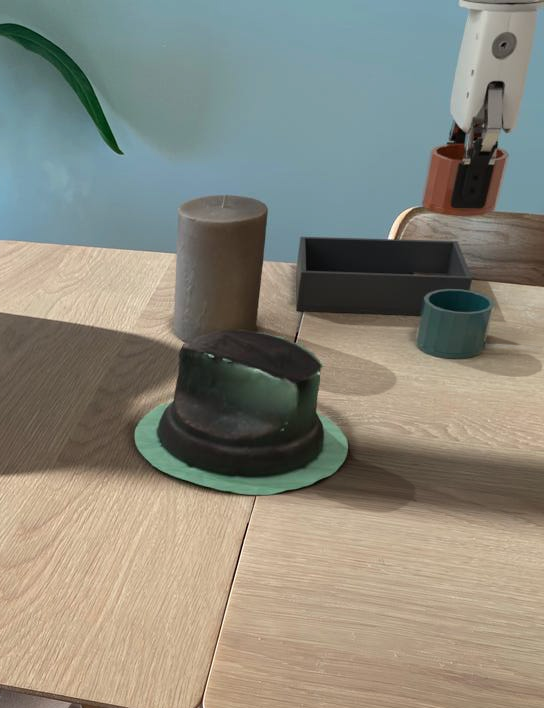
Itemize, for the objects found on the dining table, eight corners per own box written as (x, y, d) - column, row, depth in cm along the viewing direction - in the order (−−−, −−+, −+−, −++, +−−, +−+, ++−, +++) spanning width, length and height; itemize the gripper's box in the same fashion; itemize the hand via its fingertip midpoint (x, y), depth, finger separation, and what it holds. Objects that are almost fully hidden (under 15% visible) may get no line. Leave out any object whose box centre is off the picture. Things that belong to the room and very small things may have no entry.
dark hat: (382, 408, 95) (327, 514, 82) (217, 455, 107) (146, 555, 93) (327, 263, 89) (258, 351, 76) (159, 330, 101) (74, 417, 87)
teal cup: (477, 334, 110) (489, 290, 107) (487, 360, 105) (499, 315, 102) (412, 331, 111) (421, 287, 108) (418, 357, 106) (427, 312, 103)
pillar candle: (273, 329, 113) (288, 192, 103) (222, 355, 108) (234, 213, 98) (205, 309, 118) (214, 176, 109) (154, 333, 113) (159, 196, 103)
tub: (449, 278, 124) (457, 241, 121) (463, 317, 114) (472, 278, 111) (295, 272, 127) (300, 236, 124) (296, 311, 117) (301, 272, 114)
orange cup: (488, 195, 102) (501, 143, 98) (501, 216, 96) (515, 162, 93) (417, 195, 103) (427, 143, 99) (425, 215, 97) (436, 161, 94)
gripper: (573, -1, 80) (516, 222, 92) (530, -26, 94) (484, 173, 105) (478, 0, 81) (433, 221, 93) (448, -24, 95) (412, 172, 106)
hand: (460, 194), depth 99 cm, fingers closed on orange cup, 7 cm apart
